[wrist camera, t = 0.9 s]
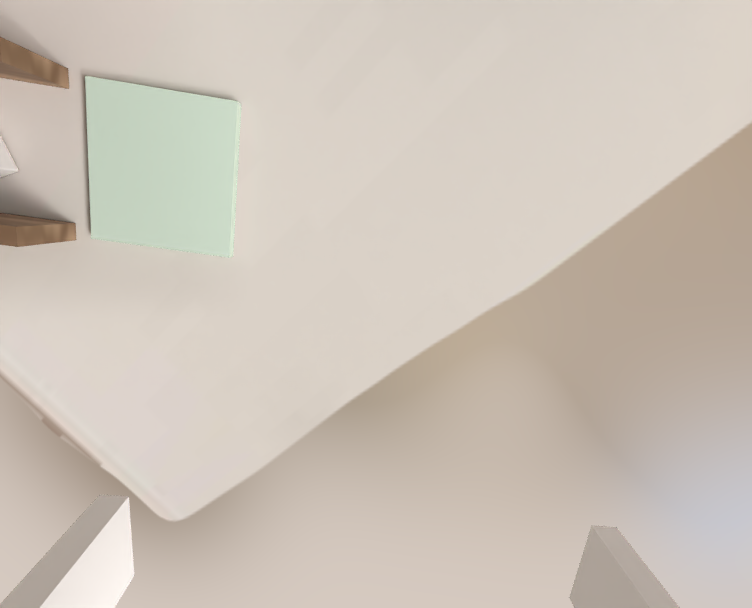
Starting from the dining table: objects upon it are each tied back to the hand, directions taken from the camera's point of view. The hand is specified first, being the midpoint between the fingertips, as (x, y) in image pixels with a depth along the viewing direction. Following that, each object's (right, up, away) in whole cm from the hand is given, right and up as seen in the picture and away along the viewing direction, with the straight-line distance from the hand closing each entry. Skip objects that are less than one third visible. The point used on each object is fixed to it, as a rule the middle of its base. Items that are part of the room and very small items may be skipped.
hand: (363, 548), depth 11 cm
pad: (-18, +18, +22) cm, 34 cm away
